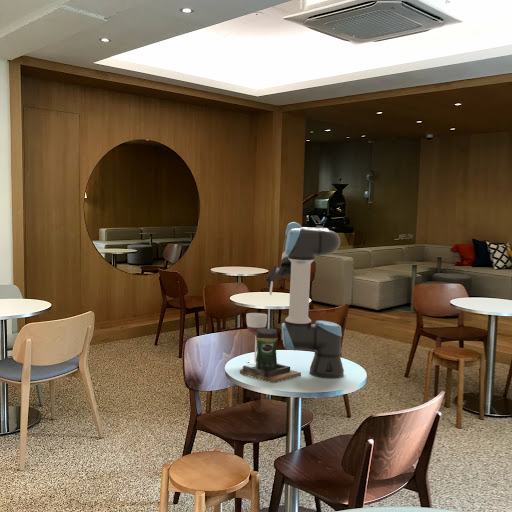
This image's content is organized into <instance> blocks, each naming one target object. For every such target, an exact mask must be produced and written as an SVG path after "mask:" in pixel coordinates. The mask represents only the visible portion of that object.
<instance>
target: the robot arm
mask: <svg viewBox="0 0 512 512" xmlns="http://www.w3.org/2000/svg"><path fill="white" fill-rule="evenodd" d="M284 234H285V235H284V241H283V248H282V254H281V262H280V266H279V267H277V266H276V265H275V266H274V267H273V269H272V270H271V271H270V272H269V274H268V275H267V277H266V278H265V283H266V284H268V289H269V295H270V296H272V294H273V288H274V287H273V286H274V283H275V282H276V281H278V280H279V279H280V278H282V277H288V278H289V277H290V285H289V286H290V287H289V301H288V302H289V306H288V316H287V317H285V320H284V322H283V323H281V334H282V335H281V336H282V337H281V338H282V344H283V347H284V349H286V350H291V351H314V353H313V354H314V355H313V359H312V361H311V364H310V367H309V374H310V375H312V376H314V377H319V378H325V379H336V378H341V377H343V376H344V374H345V373H344V372H345V371H344V367H343V362H342V359H341V358H342V357H341V354H342V352H341V351H342V337H343V334H342V326H340V324H339V323H338V324H337V323H336V322H332V321H329V320H328V321H326V320H315V323H312V319H310V317H309V306H310V304H309V303H310V288H311V287H310V285H311V284H310V283H311V265H312V263H313V262H314V261H315V257H316V256H318V257H320V256H323V257H324V256H328V255H331V254H333V253H335V252H336V251H337V250H339V247H340V245H341V238H340V235H338V233H337V232H335V231H333V230H330V229H329V228H327V227H308V226H307V227H306V226H301V224H300V223H297V222H296V221H293V222H290V223H288V224H287V225H286V229H285V233H284Z"/></svg>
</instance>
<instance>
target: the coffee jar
mask: <svg viewBox="0 0 512 512" xmlns="http://www.w3.org/2000/svg"><path fill="white" fill-rule="evenodd" d="M278 336H279V335H278V331H277V329H275V328H265V329H258V330H257V336H256V340H257V351H256V364H254V365H255V366H254V367H255V368H256V369H259V370H263V371H271V370H275V369H277V364H278V361H277V360H278V359H277V342H278V340H279V337H278Z"/></svg>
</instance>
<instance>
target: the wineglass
mask: <svg viewBox="0 0 512 512" xmlns="http://www.w3.org/2000/svg"><path fill="white" fill-rule="evenodd" d="M245 320H246V326H247V330H248V332H250V333H251V334H252V335H254V358H253V359H249V360H250V361H249V362H250V363H256V356H257V340H256V336H257V330H258V329H267V328H266V326H267V322H268V314H267V313H263V312H262V313H261V312H249V313H246V317H245Z"/></svg>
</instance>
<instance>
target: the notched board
mask: <svg viewBox="0 0 512 512" xmlns="http://www.w3.org/2000/svg"><path fill="white" fill-rule="evenodd" d="M241 373H243V374H242V375H244V374H246V375H245V376H248V375H250V376H249V377H251V376H253V377H252V378H255V377H256V378H255V379H258V378H260V379H259V380H261V379H263V380H262V381H265V380H266V381H265V382H268V381H270V382H269V383H271V382H273V383H272V384H274V382H275V383H278V381H279V382H282V380H283V381H286V379H287V380H291V379H294V378H293V377H295V378H298V377H297V376H299V377H301V376H302V372H300V371H297V370H293V369H291V366H289V365H284V364H282V363H281V364H280V363H277V369H275V370H271V371H263V370H259V369H256V368H255V366H250V365H249V366H248V365H242V368H241V369H239V374H241ZM290 378H291V379H290Z"/></svg>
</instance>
